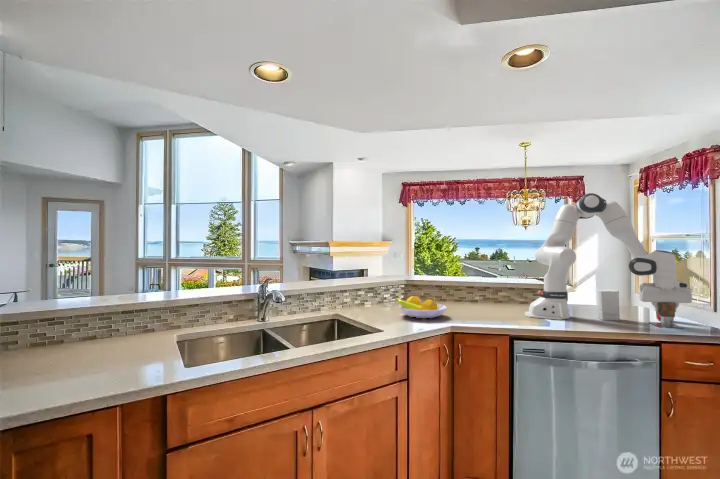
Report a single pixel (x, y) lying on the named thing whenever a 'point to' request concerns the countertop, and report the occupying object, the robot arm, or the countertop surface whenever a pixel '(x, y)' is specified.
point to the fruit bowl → (421, 308)
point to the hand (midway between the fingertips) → (665, 311)
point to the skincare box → (608, 305)
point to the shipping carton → (666, 309)
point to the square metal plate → (665, 323)
